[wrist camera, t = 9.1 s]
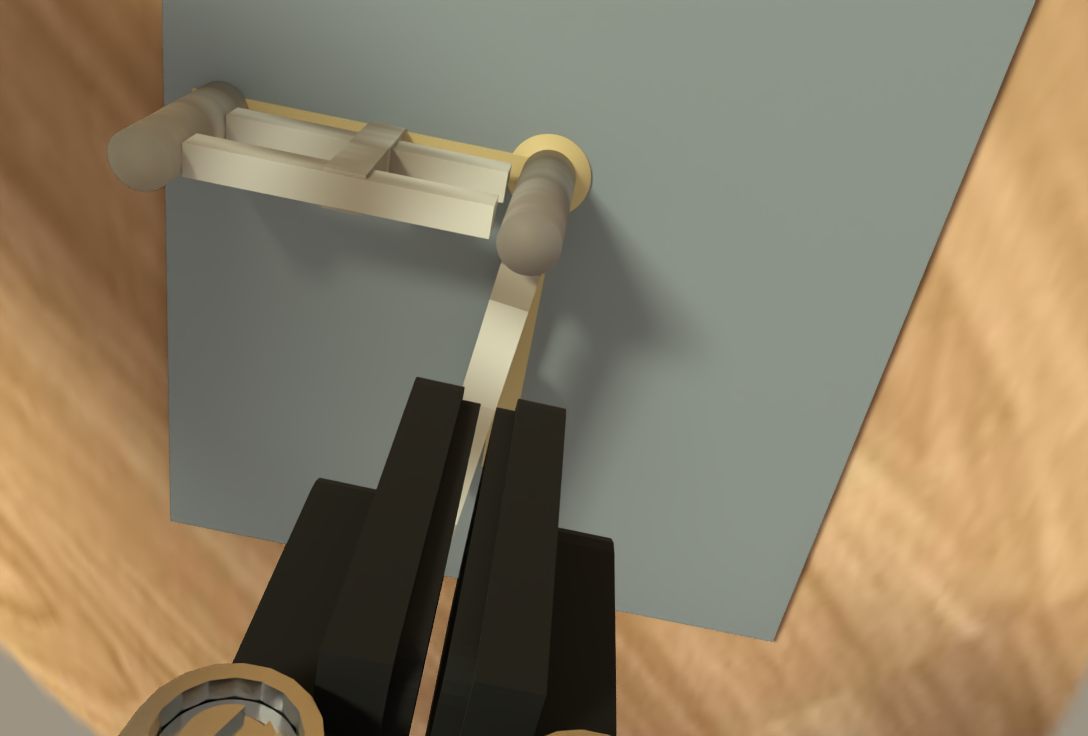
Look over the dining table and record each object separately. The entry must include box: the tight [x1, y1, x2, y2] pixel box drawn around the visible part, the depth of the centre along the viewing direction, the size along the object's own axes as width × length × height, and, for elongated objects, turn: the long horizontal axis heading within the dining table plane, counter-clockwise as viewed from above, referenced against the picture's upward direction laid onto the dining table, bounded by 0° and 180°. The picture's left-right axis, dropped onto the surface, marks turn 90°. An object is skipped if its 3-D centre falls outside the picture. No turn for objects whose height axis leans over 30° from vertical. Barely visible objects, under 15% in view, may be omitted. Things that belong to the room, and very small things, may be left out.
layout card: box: [162, 0, 1036, 642], centre depth 33 cm, size 26×30×1 cm
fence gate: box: [452, 261, 541, 538], centre depth 32 cm, size 11×1×5 cm, turn 163°
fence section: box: [107, 81, 576, 276], centre depth 29 cm, size 13×2×6 cm, turn 80°
